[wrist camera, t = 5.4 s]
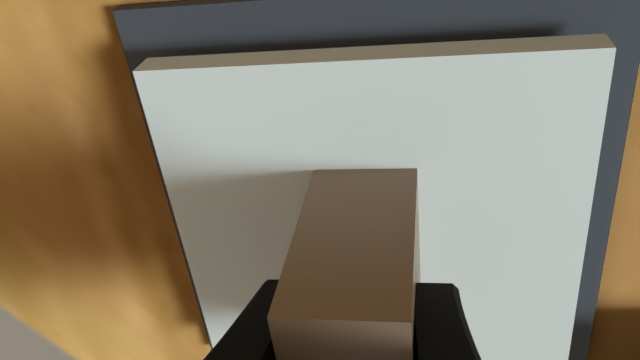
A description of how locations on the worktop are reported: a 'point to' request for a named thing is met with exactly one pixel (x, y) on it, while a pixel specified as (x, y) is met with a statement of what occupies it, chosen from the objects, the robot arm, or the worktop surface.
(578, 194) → the lid
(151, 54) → the mat
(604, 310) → the worktop surface
